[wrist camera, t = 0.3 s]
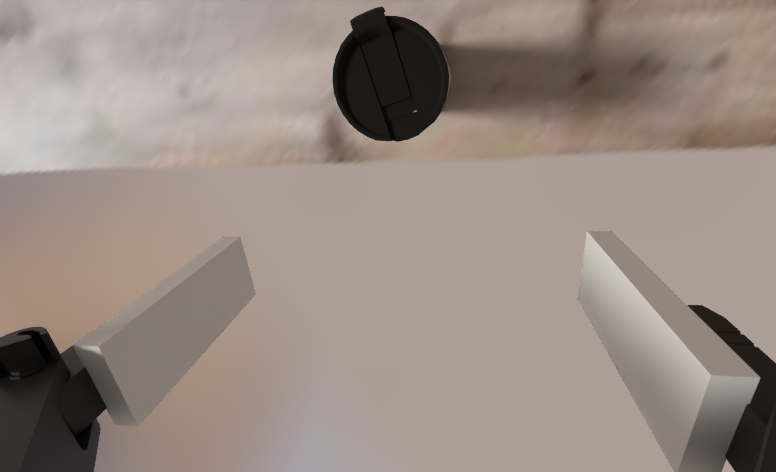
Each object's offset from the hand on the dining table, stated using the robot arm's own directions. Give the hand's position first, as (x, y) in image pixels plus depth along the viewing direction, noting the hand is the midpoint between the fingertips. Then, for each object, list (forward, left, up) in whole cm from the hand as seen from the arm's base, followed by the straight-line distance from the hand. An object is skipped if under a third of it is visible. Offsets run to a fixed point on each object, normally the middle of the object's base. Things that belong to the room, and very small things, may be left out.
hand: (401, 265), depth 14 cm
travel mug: (-7, -1, -28) cm, 29 cm away
